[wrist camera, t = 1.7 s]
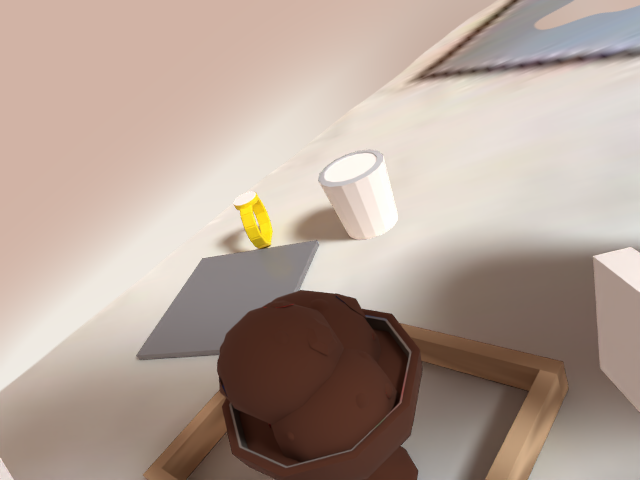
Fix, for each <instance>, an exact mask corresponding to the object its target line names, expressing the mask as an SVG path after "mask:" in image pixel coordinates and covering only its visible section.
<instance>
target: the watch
mask: <svg viewBox="0 0 640 480" xmlns="http://www.w3.org/2000/svg"><path fill="white" fill-rule="evenodd" d="M233 203H234V206H235V208H236V209H237V210H240V215H241V219H242V223H243V226H244V228H245V231H246V233H247V235H248V237H249V239H250V241H251V242H252V243H253V244H254V246H255V247H257V248H263V247H266V246H269V245H271V238H272V232H273V231H272V226H271V222H270V219H269V216H268V213H267V211H266V209H265V207H264V205H263V203H262V202H261V200H260V199H259V198H258V195H257V193H256V192H253V191H250V192H246V193H244V194H242V195H240V196H238V197H237V198H236V199H235V200H234V202H233ZM253 211H254V213H255V215H256V218H257V221H258V223H259V227H260V230H259V228H258V226H257V225H256V221H255V218H254V214H253ZM260 231H261V233H260Z"/></svg>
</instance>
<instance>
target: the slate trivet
mask: <svg viewBox="0 0 640 480" xmlns="http://www.w3.org/2000/svg"><path fill="white" fill-rule="evenodd" d="M318 246H319V244H318V241H317V240H316V241H309V242H303V243H297V244H290V245H284V246H278V247H271V248H265V249H259V250H252V251H246V252H240V253H234V254H227V255H221V256H215V257H208V258H202V260H201V261H200V263H199V264H198V266H197V267H196V269H195V270H194V272H193V273H192V275H191V276H190V278H189V279H188V280H187V282H186V283H185V285H184V286H183V288H182V289H181V291H180V292H179V294H178V295H177V297H176V298H175V299H174V301H173V302H172V304H171V305H170V307H169V308H168V310H167V311H166V313H165V314H164V316H163V317H162V318H161V320H160V321H159V323H158V324H157V326H156V327H155V329H154V330H153V332H152V333H151V335H150V336H149V337H148V339H147V340H146V342H145V343H144V345H143V346H142V348H141V349H140V351H139V352H138V354H137V355H136V356H137V357H138V358H139V360H142V359H157V358H172V357H188V356H203V355H218V354H220V347H221V345H222V343H223V342H224V339H225V336H226V333H227V332H228V331H229V330H230V329H231V328H232V327H233V326H234V325H235V324H237V323H238V322H239V321H240V320H241V319H242V318H243V317H244V316H245V315H246V314H247V313H248V312H249V311H251V310H254V309H258V308H261V307H263V306H265V305H266V304H268V303H270V302H272V301H273V300H274V299H276V298H278V297H281V296H284V295H287V294H290V293H293V292H297V291H299V289H300V287H301V284H302V282H303V280H304V278H305V275H306V273H307V271H308V269H309V266H310V264H311V262H312V260H313V257H314V255H315V253H316V250H317V248H318Z"/></svg>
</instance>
